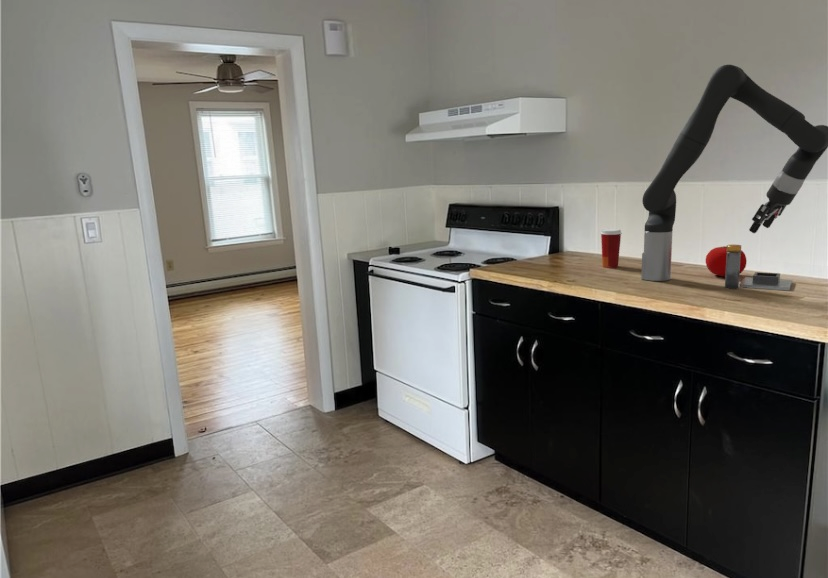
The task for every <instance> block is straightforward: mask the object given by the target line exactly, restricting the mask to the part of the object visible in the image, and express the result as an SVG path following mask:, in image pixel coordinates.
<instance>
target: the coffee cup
mask: <svg viewBox="0 0 828 578" xmlns="http://www.w3.org/2000/svg"><path fill="white" fill-rule="evenodd" d="M599 234H600V239H601V242H600V243H601V262H602V268H607V269H612V268H613V269H614V268H615V269H616V268H618V267H619V261H620V249H621V248H620V247H621V239H622V237H621V236H622V231H621V229H617V228H608V229H602V230H601V232H600V233H599Z"/></svg>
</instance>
